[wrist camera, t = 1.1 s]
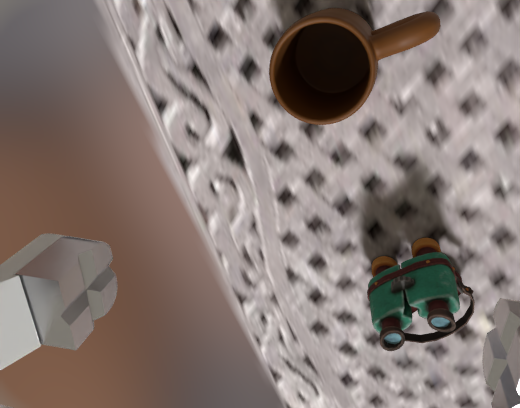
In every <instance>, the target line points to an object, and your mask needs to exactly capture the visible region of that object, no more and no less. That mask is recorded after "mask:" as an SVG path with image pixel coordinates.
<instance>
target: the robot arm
mask: <svg viewBox="0 0 520 408" xmlns="http://www.w3.org/2000/svg"><path fill="white" fill-rule="evenodd" d="M112 259H113V257H112V253H111V249H110V246H109V245H108V244H106V243H105V242H100V241H93V240H88V239H81V238H76V237H70V236H63V235H56V234H42V235H40V236H39V237H37V238H36V239H35V240H33V241H32V242H31V243H29V244H28V245H27V246H25V247H24V248H23V249H21V250H20V251H19V252H17V253H16V254H14V255H13V256H12V257H10V258H9V259H8V260H7V261H5V262H4V263H3V264H1V265H0V370H2V369H3V368H5V367H7V366H8V365H10V364H12V363H13V362H15V361H17V360H18V359H20V358H22V357H23V356H25V355H27V354H29V353H30V352H32V351H34V350H35V349H37V348H39V347H40V346H41V344H42V345H48V346H55V347H60V348H66V349H72V350H77V349H78V347H79V346H80V345H81V344H82V342H83V341H84V340H85V339H86V338H87V336H88V335H89V334H90V333H91V332H92V330H93V329H94V320H96V319H98V318H100V317H102V316H104V315H106V313H107V312H108V311H109V310H110V308H111V307H112V305H113V303H114V300H115V297H116V295H117V279H116V274H115V273H114V272H113V271H112V270H111V268H110V267H109V264H110V262H111V261H112ZM493 318H494V321H495V324H496V328H494V329H493V330H491V331H490V332H488V333H487V336H486V340H485V343H484V348H483V372H484V376H485V381H486V384H487V385H488V386H489V387H490V388H491V389H492V390H493V391H494V392H495V394H494V397H493V400H492V403H491V405H492V408H520V301H517V300H509V299H502V298H500V299H499V301H498V302H497V304H496V306H495V309H494V313H493ZM0 408H12V407H8V406H4V405H0Z"/></svg>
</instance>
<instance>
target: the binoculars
mask: <svg viewBox="0 0 520 408" xmlns="http://www.w3.org/2000/svg"><path fill="white" fill-rule="evenodd" d="M412 255H413V258H412V259H409V260H407V261H405V262H403V263H401V268H402V269H400V265H399V264H397V263H396V261H395V260H394V259H392V258H390V257H387V256H381V257H378V258H376V259H375V260H374V261H373V263H372V275H373V278H372V279H371V280H370V282H369V284H368V292H367V294H368V299H369V301H370V308H371V316H372V323H373V326H374V328H375V329H376V331H377V332H378V333H379V334H380V344H381V347H382V348H383V349H385V350H387V351H394V350H397V349H399V348H400V347H402V345H403V344H404V342H405V341H410V342H418V343H425V342H431V341H437V340H439V339H442V338H444V337H447V336H449V335H451V334H453V333H454V332H456V331H458V330H459V329H460V328H462V327H463V326H464V325H466V324H467V322H468V321H469V319H470V318H471V316H472V315H473V313H474V299H473V296H472V293H473V290H472V289H471V288H470V287H467V286H465V285H463V283H462V278H461V276H460V275H459V274H458V273H457V272H456V271H454V270H455V268H454V267H452V264H451V262H450V260H449V258H448V257H447V256H446V255H445V254H443V253H441V250H440V246H439V244H438V243H437V242H436V241H435V240H433V239H431V238H420V239H418V240H417V241H415V242H414V244H413V246H412ZM461 293H464V294H467V295H469V296H470V298H471V302H470V307H469V308H468V310H467V311H466V313H465V315H464V316H463V317H462V318H460V319H459V320H458V321H457V322H455V320H454V316H453V314H454V313H456V312H457V311H458V310H459V309H460V302H459V295H460V294H461ZM417 310H418V314H419V316H421V317H423V318H427V321H428V324H429V326H430V327H431V328H433V329H435V330H437V332H435V333H429V334H424V335H416V334H409V333H404V332H403V331H402V330H404V329H406V328H408V327H409V326H410V325H411V323H412V313H414V312H415V311H417Z"/></svg>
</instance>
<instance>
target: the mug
mask: <svg viewBox="0 0 520 408" xmlns="http://www.w3.org/2000/svg"><path fill="white" fill-rule="evenodd" d="M439 29H440V19H439V17H438V15H437V14H435V13H434V12H423V13H419V14H415V15H412V16H410V17H407V18H404V19H402V20H399V21H397V22H394V23H392V24H390V25H387V26H385V27H382V28H380V29H377V30H374V31H372V29H371V27H370V26H369V25H368V23H367V22H366V21H365V20H364V19H363V18H362V17H360V16H359V15H358V14H356V13H354V12H352V11H349V10H346V9H342V8H328V9H324V10H320V11H317V12H315V13H312V14H310V15H307V16H305V17H303V18H302V19H300V20H298V21H297V22H295V23H294V24H293V25H292V26H290V27H289V28H288V29H287V30H286V32H285V33H284V34H283V35H282V37H281V38H280V39H279V41H278V42H277V44H276V46H275V48H274V50H273V53H272V56H271V60H270V68H269V75H270V82H271V87H272V90H273V93H274V95H275V97H276V99H277V100H278V102H279V103H280V105H281V106H282V107H283V108H284V109H285V110H286V111H287V112H288V113H289V114H291V115H292V116H294V117H295V118H297V119H299V120H301V121H304V122H306V123H311V124H317V125H326V124H333V123H336V122H339V121H342V120H344V119H346V118H348V117H349V116H351V115H352V114H354V113H355V112H356V111H357V110H358V109H359V108H360V107H361V106H362V105H363V104H364V102H365V101H366V100H367V98H368V96H369V94H370V92H371V91H372V88H373V86H374V84H375V80H376V77H377V69H378V60H380V59H382V58H385V57H388V56H390V55H393V54H396V53H399V52H402V51H405V50H408V49H410V48H413V47H415V46H418V45H420V44H422V43H424V42H426V41H428V40H429V39H431V38H433V37H434V36H435V35H436V34H437V33H438V31H439Z"/></svg>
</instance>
